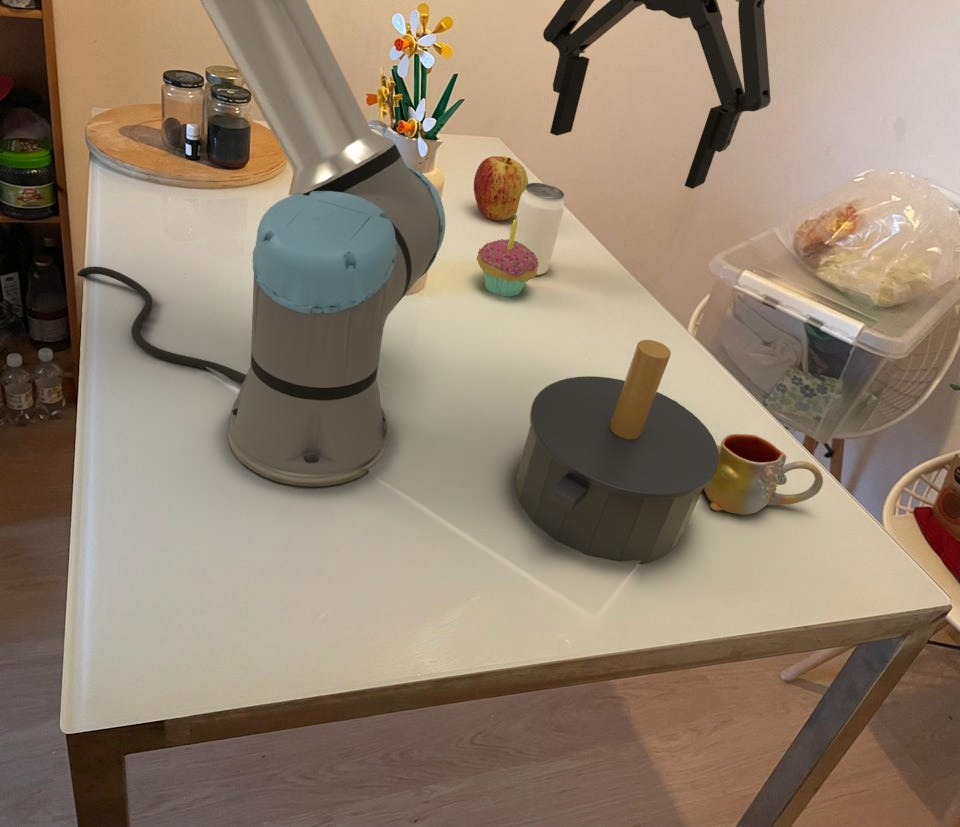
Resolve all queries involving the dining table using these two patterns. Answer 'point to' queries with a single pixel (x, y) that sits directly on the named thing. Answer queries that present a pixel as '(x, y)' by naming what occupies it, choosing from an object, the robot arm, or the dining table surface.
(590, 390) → the lid
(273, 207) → the robot arm
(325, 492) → the dining table surface
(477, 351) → the dining table surface
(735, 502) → the mug
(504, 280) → the cupcake
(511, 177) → the apple
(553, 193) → the can
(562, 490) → the pot
